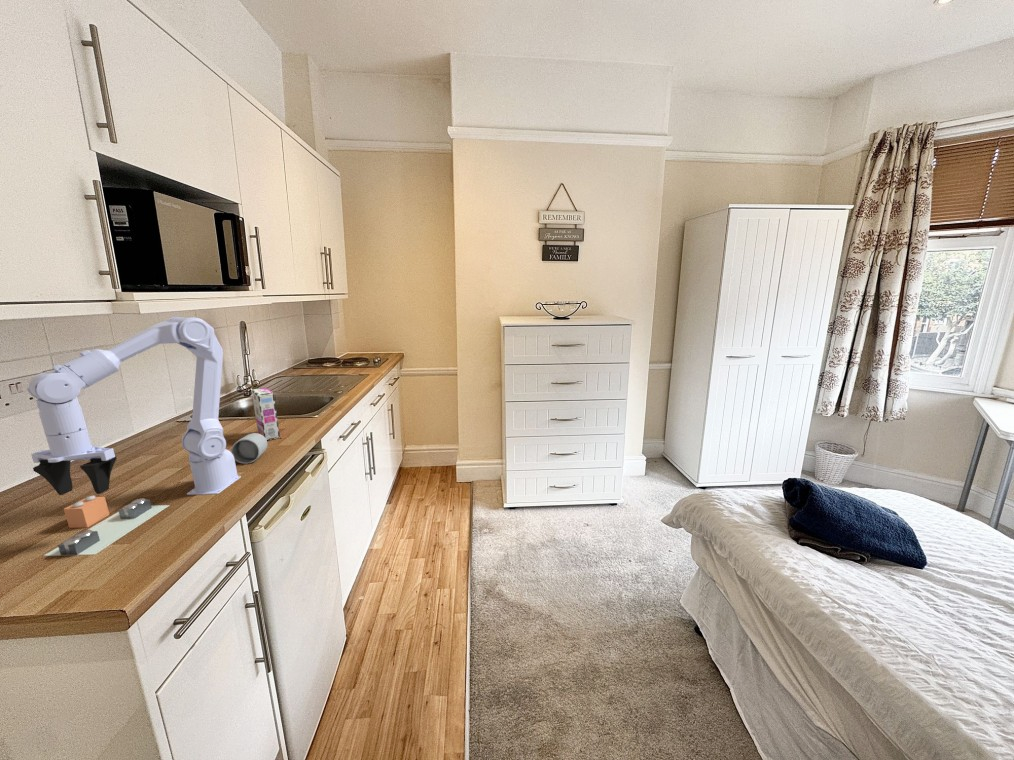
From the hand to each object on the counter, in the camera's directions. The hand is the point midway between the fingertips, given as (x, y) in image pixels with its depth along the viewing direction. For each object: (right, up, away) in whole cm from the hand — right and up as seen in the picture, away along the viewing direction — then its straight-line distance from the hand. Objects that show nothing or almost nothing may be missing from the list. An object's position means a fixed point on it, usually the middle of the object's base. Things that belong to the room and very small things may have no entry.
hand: (84, 492), depth 84 cm
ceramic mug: (+9, -1, +38) cm, 39 cm away
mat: (+3, -9, +3) cm, 10 cm away
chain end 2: (+3, -7, +9) cm, 12 cm away
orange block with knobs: (-5, -9, +6) cm, 12 cm away
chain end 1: (+3, -10, -3) cm, 11 cm away
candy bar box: (+4, +4, +58) cm, 58 cm away
